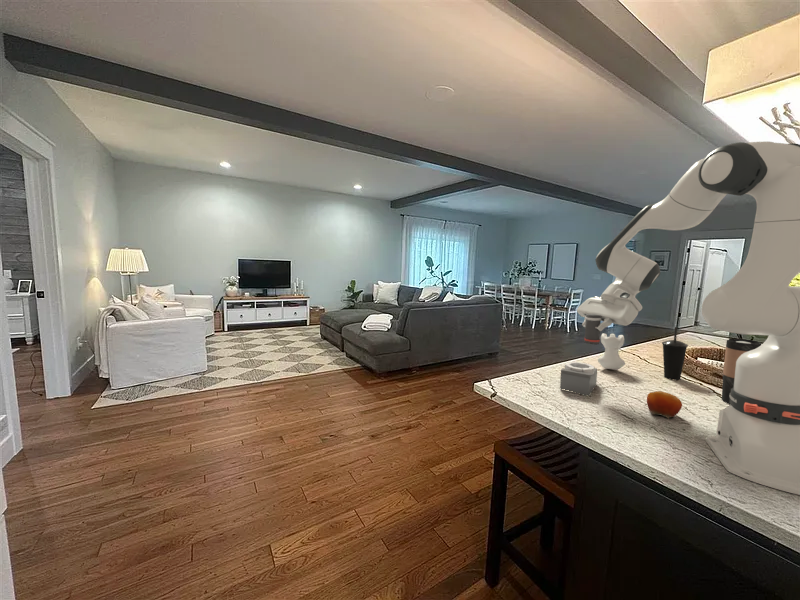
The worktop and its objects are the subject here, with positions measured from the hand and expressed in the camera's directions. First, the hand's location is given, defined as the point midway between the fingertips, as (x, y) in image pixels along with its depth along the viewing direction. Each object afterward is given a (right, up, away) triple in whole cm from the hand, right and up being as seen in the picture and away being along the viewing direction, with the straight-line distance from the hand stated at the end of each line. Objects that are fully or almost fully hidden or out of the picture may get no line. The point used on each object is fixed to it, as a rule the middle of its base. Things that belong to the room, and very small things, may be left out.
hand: (590, 327), depth 114 cm
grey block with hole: (-2, -22, +4) cm, 22 cm away
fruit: (+11, -24, -18) cm, 32 cm away
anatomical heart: (+22, -20, +24) cm, 38 cm away
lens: (+1, -5, +1) cm, 5 cm away
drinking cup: (+39, -21, +13) cm, 46 cm away
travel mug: (+40, -23, -11) cm, 48 cm away
